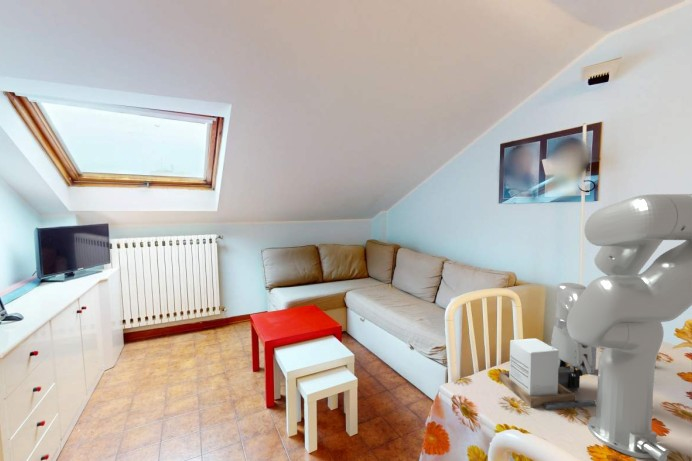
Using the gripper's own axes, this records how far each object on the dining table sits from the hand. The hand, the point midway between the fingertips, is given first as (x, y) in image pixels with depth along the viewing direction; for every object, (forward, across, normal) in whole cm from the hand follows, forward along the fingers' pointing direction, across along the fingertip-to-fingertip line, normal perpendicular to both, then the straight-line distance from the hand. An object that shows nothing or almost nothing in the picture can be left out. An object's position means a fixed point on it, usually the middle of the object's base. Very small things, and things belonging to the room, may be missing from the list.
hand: (568, 383), depth 91 cm
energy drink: (+2, +9, -16) cm, 18 cm away
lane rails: (+2, 0, +7) cm, 7 cm away
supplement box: (+2, 0, +12) cm, 13 cm away
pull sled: (+1, 0, +8) cm, 8 cm away
